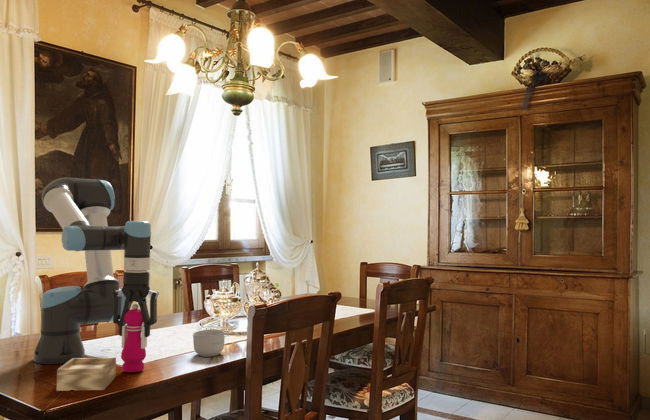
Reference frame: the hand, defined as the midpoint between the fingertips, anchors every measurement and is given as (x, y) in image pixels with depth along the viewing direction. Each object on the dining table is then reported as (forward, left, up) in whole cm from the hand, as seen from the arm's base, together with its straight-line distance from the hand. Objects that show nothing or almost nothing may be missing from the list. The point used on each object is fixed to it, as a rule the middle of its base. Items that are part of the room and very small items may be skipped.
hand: (134, 346), depth 163 cm
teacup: (+17, +25, -8) cm, 31 cm away
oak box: (-8, -13, -7) cm, 17 cm away
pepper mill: (0, 0, -7) cm, 7 cm away
